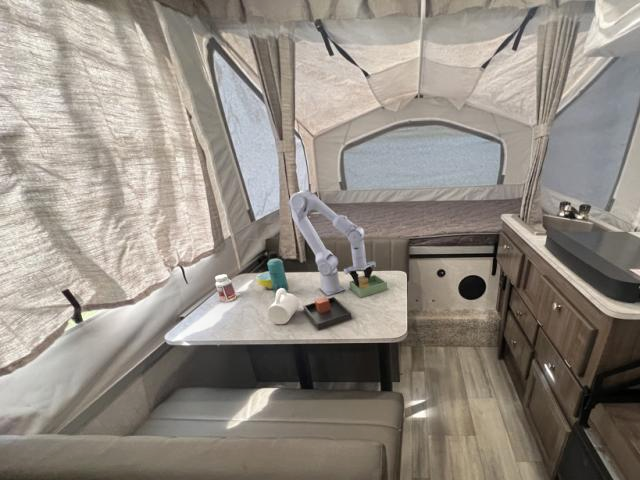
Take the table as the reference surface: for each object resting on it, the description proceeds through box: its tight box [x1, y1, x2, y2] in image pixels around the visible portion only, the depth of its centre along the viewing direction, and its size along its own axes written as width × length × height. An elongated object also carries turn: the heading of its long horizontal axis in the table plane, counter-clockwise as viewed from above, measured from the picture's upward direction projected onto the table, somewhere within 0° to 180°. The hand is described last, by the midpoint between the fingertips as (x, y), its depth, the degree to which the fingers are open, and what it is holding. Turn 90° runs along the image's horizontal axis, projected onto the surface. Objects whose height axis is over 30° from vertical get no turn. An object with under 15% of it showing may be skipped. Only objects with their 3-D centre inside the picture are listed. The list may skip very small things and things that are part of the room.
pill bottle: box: [214, 273, 237, 303], centre depth 137 cm, size 6×6×11 cm
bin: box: [349, 274, 388, 298], centre depth 141 cm, size 11×13×4 cm
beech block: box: [358, 275, 369, 289], centre depth 138 cm, size 4×4×4 cm
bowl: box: [255, 270, 274, 290], centre depth 147 cm, size 11×12×6 cm
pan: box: [302, 296, 352, 331], centre depth 122 cm, size 17×13×2 cm
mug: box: [266, 288, 300, 325], centre depth 119 cm, size 8×10×12 cm
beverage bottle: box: [266, 251, 290, 295], centre depth 136 cm, size 6×7×20 cm
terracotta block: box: [314, 296, 331, 313], centre depth 124 cm, size 4×4×4 cm
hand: (362, 284), depth 139 cm, fingers closed on beech block, 4 cm apart
